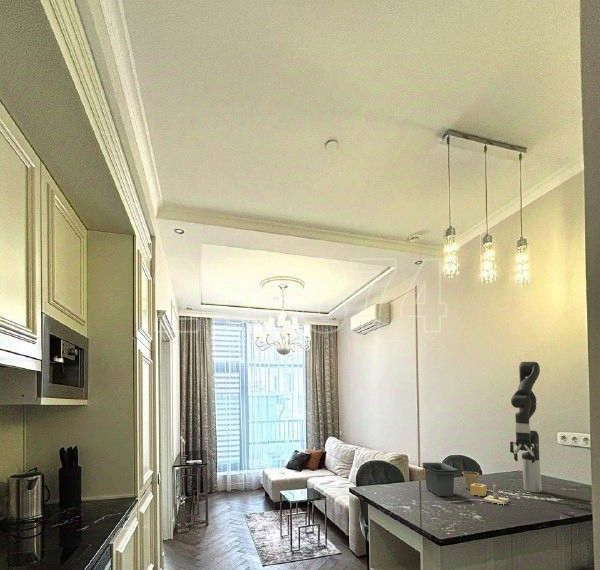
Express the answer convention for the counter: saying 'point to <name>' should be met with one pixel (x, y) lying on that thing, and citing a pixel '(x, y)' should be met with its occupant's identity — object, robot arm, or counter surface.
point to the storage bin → (439, 478)
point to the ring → (478, 489)
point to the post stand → (496, 497)
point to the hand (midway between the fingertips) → (524, 462)
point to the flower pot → (470, 478)
